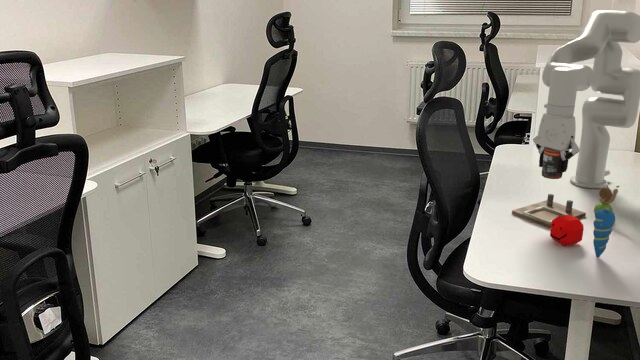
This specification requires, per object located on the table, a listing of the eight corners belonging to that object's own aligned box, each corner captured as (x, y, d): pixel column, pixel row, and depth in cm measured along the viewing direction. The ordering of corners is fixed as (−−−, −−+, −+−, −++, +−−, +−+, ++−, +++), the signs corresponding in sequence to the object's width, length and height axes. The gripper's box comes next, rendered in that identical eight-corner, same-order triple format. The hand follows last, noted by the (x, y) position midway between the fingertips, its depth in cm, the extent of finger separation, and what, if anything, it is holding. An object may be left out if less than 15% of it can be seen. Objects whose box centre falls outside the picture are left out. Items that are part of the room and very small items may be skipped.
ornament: (584, 253, 168) (592, 202, 163) (602, 253, 168) (610, 201, 163) (593, 262, 163) (602, 209, 158) (612, 261, 163) (621, 208, 158)
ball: (543, 239, 176) (547, 214, 174) (564, 235, 180) (568, 210, 177) (564, 250, 170) (568, 225, 167) (586, 245, 173) (590, 220, 170)
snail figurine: (606, 224, 188) (612, 187, 184) (588, 217, 193) (594, 181, 189) (618, 221, 190) (624, 184, 186) (600, 214, 195) (606, 178, 192)
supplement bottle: (560, 174, 189) (565, 138, 185) (563, 180, 183) (568, 143, 180) (539, 173, 190) (544, 137, 186) (542, 179, 184) (547, 142, 181)
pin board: (547, 203, 205) (549, 189, 203) (585, 216, 194) (587, 202, 192) (511, 213, 195) (513, 199, 194) (549, 228, 184) (551, 213, 183)
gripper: (527, 106, 185) (521, 164, 191) (578, 117, 171) (569, 178, 177) (543, 104, 189) (536, 160, 195) (594, 114, 175) (585, 174, 181)
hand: (552, 168), depth 186 cm, fingers closed on supplement bottle, 6 cm apart
